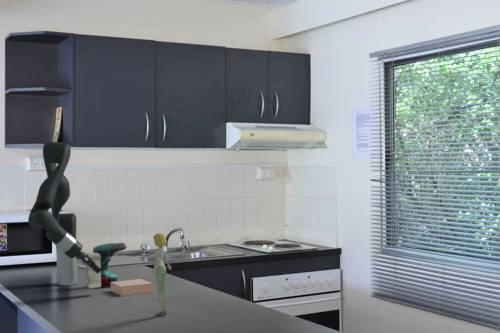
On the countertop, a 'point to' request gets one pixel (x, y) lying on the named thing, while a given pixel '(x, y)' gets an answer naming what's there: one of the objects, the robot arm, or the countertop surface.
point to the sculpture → (160, 271)
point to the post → (93, 272)
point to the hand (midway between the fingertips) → (97, 270)
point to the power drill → (106, 254)
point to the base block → (131, 287)
